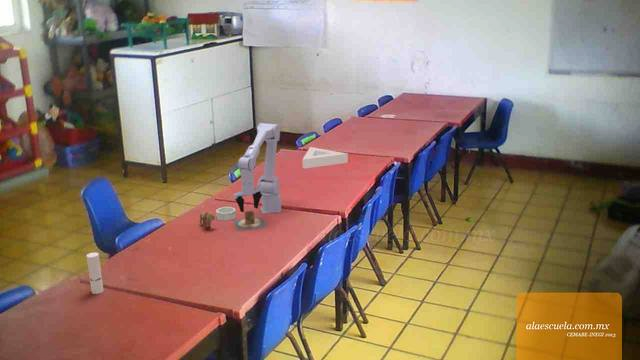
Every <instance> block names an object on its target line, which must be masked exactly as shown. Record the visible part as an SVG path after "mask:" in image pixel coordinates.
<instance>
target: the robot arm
mask: <svg viewBox="0 0 640 360" xmlns="http://www.w3.org/2000/svg"><path fill="white" fill-rule="evenodd" d="M256 133H257V134H256V136H255V139H254V140H253V143H252V144H251V145H249V146H248V147H247V149H246V151H245V152H244V155H243V156H241V157H240V158H239V159H238V161H237V167H238V169H239V170H238V171H239V173H240V181H241V191H238V192H235V193H233V194H232V195H233V198H234V200H235V201H236V203H237V205H238V208H239V212H241V213H245V207H244V205H245V199H244V198H243V197H247V196H251V195H252V199H253V208H255V209H258V207H259V203H260V200H261V207H260V211H261V213H262V214H270V213H271V214H272V213H280V212H282V198H281V193H280V192H279V190H280V179H279V177H278V176H276V175H275V170H276V168H275V167H276V158H277V145H278V142H279V141H280V136H281V128H280V125H279V124H278V123H275V124H274V123H264V122H259V123H258V125H257V127H256ZM264 142H266V146H265V147H266V148H265V160H264V170H263V174H262V175H261V176H259V177H258V183H257V186H256V188H255V183H254V181H255V179H254V169H255V168H256V163H257V158H258V156H259V155H260V153H261V150H260V148H261V147H262V145H264V144H263V143H264Z"/></svg>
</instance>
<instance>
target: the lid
mask: <svg viewBox="0 0 640 360" xmlns="http://www.w3.org/2000/svg"><path fill="white" fill-rule="evenodd" d="M255 218H256V217H255V213H254V211H253V210H248V211H244V218H242V219H243V220H241V221H239V222H238V225H239V226H240V227H243V228H254V227H257V226H260V225H261V223H262V222H261V220H259V219H255Z"/></svg>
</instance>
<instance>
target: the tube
mask: <svg viewBox="0 0 640 360" xmlns="http://www.w3.org/2000/svg"><path fill="white" fill-rule="evenodd" d="M86 263H87V269H88V270H87V271H88V274H89V283H90V289H91V294H94V295H98V294H99V295H100V294H102V293H103V292H104V283H103V278H102V268H101V261H100V254H99V252H90V253H87V254H86Z"/></svg>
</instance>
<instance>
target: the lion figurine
mask: <svg viewBox="0 0 640 360" xmlns="http://www.w3.org/2000/svg"><path fill="white" fill-rule="evenodd" d="M216 218H217V215H214V214H213V213H212V211H208V212H206V211H200V213H199V227H203V231H207V228H208V229H212V227H211V223H212V222H213V221H215V219H216ZM207 225H208V226H207Z"/></svg>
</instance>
